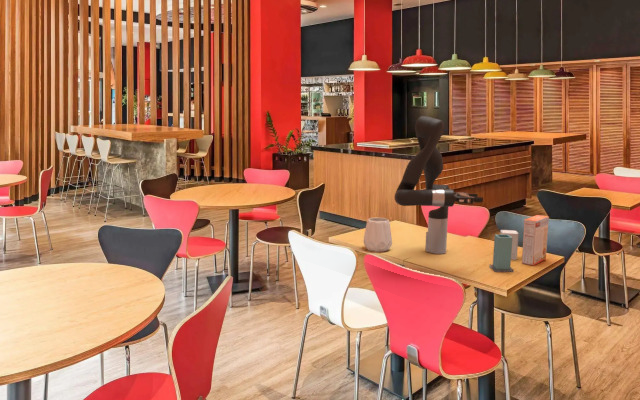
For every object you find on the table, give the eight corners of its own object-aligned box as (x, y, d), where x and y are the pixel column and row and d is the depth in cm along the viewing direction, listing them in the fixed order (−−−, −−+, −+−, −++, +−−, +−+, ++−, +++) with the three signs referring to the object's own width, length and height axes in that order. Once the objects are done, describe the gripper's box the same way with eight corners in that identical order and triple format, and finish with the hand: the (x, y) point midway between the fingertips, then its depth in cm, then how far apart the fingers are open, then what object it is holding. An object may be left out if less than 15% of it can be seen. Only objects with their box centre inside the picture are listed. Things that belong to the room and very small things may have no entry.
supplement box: (517, 260, 248) (519, 233, 246) (500, 259, 249) (502, 232, 247) (514, 255, 255) (516, 230, 253) (498, 254, 257) (500, 229, 254)
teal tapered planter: (496, 269, 231) (498, 237, 228) (492, 265, 236) (494, 234, 234) (510, 269, 230) (512, 237, 228) (505, 265, 236) (508, 234, 234)
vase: (368, 253, 257) (368, 222, 255) (360, 246, 271) (360, 217, 268) (395, 252, 260) (396, 221, 257) (386, 244, 274) (387, 216, 271)
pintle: (494, 272, 230) (496, 254, 228) (489, 266, 237) (490, 249, 236) (513, 272, 229) (514, 254, 228) (507, 266, 237) (508, 249, 236)
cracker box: (533, 257, 253) (537, 214, 249) (546, 260, 248) (549, 216, 245) (520, 263, 243) (523, 218, 239) (533, 266, 239) (536, 220, 235)
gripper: (445, 191, 220) (485, 192, 219) (439, 186, 234) (476, 186, 233) (445, 209, 221) (484, 209, 221) (438, 203, 235) (475, 203, 235)
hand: (480, 198), depth 227 cm, fingers open, 8 cm apart
